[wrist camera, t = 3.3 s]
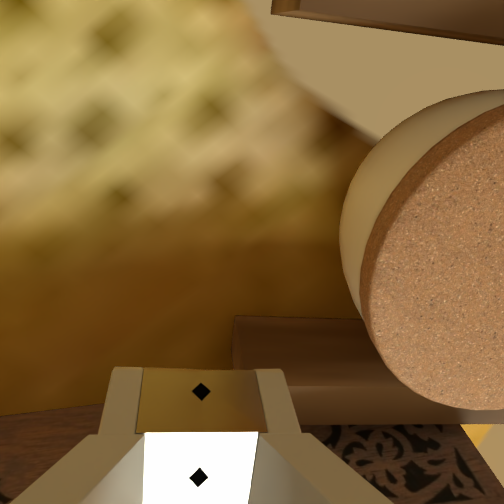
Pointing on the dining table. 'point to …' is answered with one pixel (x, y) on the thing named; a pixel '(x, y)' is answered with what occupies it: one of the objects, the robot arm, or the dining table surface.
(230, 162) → the dining table surface
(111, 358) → the dining table surface
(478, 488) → the tissue box cover
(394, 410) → the u-shaped frame
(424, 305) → the lidded jar
